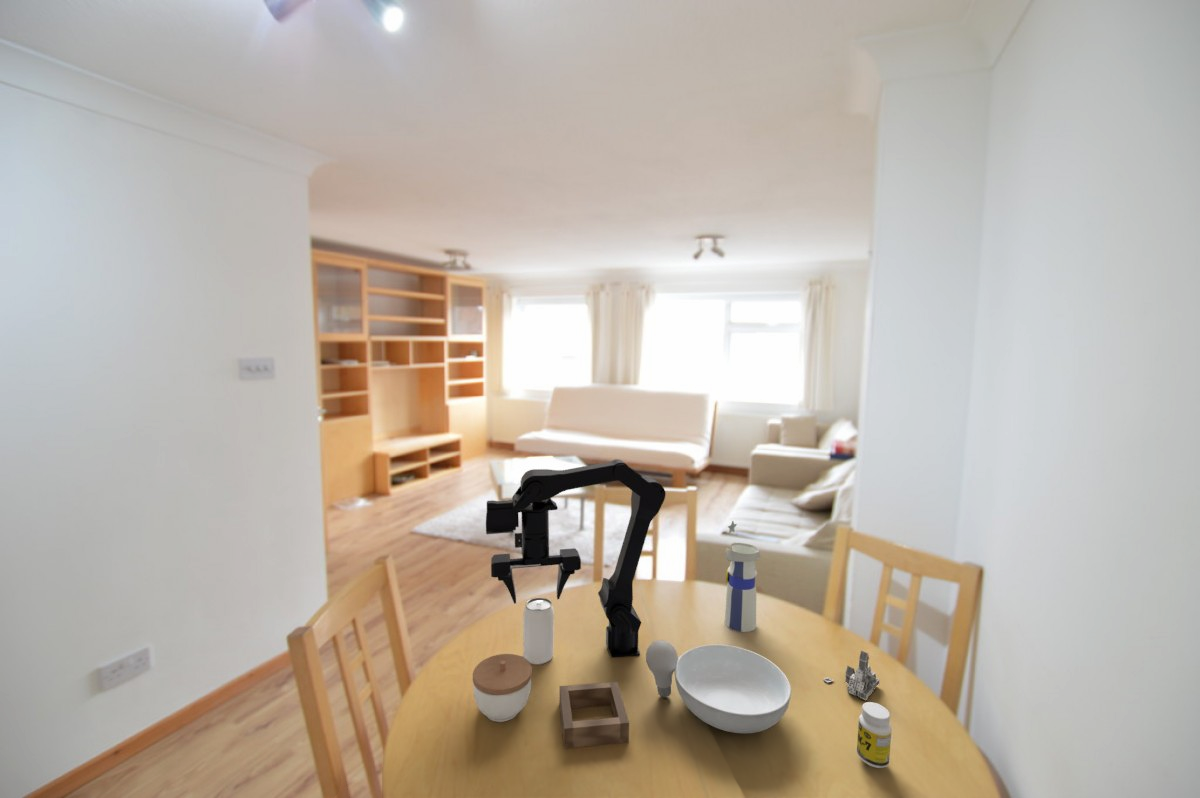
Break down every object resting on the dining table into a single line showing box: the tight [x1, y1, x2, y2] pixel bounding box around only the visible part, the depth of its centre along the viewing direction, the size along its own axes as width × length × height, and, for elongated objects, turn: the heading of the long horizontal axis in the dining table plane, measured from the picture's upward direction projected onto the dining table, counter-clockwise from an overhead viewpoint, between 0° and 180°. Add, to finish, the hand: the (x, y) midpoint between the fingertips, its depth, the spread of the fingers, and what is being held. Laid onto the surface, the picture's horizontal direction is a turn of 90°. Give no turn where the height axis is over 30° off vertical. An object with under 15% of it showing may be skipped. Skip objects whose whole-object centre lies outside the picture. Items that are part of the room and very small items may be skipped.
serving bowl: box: [673, 644, 792, 734], centre depth 94 cm, size 21×21×7 cm
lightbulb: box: [645, 639, 679, 698], centre depth 97 cm, size 6×6×11 cm
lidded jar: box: [472, 653, 533, 723], centre depth 93 cm, size 11×11×9 cm
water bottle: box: [723, 520, 761, 633], centre depth 124 cm, size 8×9×25 cm
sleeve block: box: [558, 681, 630, 749], centre depth 91 cm, size 11×11×4 cm
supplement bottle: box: [856, 701, 892, 769], centre depth 83 cm, size 5×5×8 cm
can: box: [522, 597, 555, 666], centre depth 109 cm, size 6×6×12 cm
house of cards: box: [822, 650, 880, 701], centre depth 104 cm, size 9×9×8 cm
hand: (536, 600), depth 109 cm, fingers open, 9 cm apart
